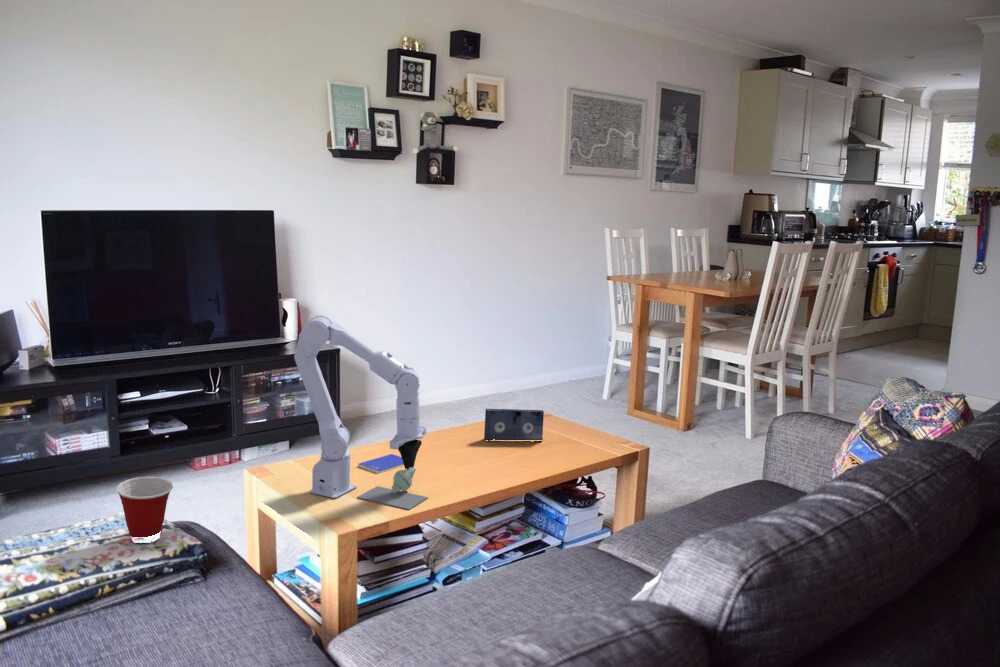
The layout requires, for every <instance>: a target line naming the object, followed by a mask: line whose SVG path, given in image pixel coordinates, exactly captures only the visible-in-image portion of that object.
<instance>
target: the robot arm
mask: <svg viewBox="0 0 1000 667" xmlns="http://www.w3.org/2000/svg"><path fill="white" fill-rule="evenodd" d="M327 342H328V346H332V347H333V346H334V347H335V346H336V347H337V346H341V347H342V348H345V349H346V350H348V351H350V352H351V353H352V354H354V355H355V356H357V357H359V358H361V360H364V361H365V362H367V363H368V365H369V370H370V371H371V372H372V373H374V374H375V375H376V376H378V377H380V378H381V379H383V380H384V381H385V382H387V383H389V384H390V385H394V387H395V390H396V392H397V394H396V395H397V398H396V400H395V401H396V403H395V404H396V434H395V435H394V437H393V438H392V439H391V440H389V449H391V450H395V451H396V450H398V452H399V454H400V457H402V460H403V463H404V466H403V467H404V470H405V469H408V468H410V467H412V468H414V467H415V463H416V459H417V455H418V452H419V450H420V448H421V446H422V440H421V439H423V438H424V436H425V435H427V427H426V426H421V425H420V424H421V422H420V418H421V416H420V398H419V397H420V395H419V394H420V392H419V388H420V376H419V374H418V373H417V372H416V370H415V369H414V368H413V367H409V365H407V364H406V363H404V364H403V363H402V362H400V361H399V360H397V359H396V358H394V357H393V353H391V352H390V351H387V352H386V351H384V350H381V351H375V350H374V349H373V348H372V347H370V346H369V345H368V344H366V343H365V342H363V341H362V340H361V339H359V338H358V337H357V336H356V335H355V334H353V333H352V332H350V331H349V330H347V329H346V328H345V327H343V326H342V325H341V324H339V323H337V322H336V321H332V320H331V319H330V318H328V317H327V316H326V315H315V316H314V317H312V318H311V319H310V320H309V321H308V322H307V323H306V324H305V325H304V327H303V328H302V330H301V331H300V332H299V334H298V340H297V344H296V347H295V352H294V356H293V357H294V362H295V365H296V367H297V369H298V372H299V374H300V377H301V380H302V383H303V386H304V388H305V391H306V393H307V396H308V399H309V401H310V404H311V407H312V409H313V410H312V411H313V412H314V415H315V418H316V420H317V423H318V429H319V435H320V439H321V444H320V450H321V453H320V459H319V460H318V461H317V462H316V463H315V464H314V465H313V467H312V477H311V478H312V487H311V489H310V490H309V493H311V494H315V495H319V496H322V495H323V496H322V497H326V498H332V499H337V498H339V497H340V496H343V495H345V494H347V493H349V492H351V491H352V490H355V489H356V488H358V487H357V484H352V483H351V452H350V451H349V450H348V445H349V443H350V440H351V433H350V431H349V430H348V428H347V427H345V426H344V425H343V422H342V420H341V419H340V417H339V415H338V414H337V411H336V408H335V406H334V404H333V401H332V398H331V395H330V392H329V390H328V387H327V383H326V381H325V379H324V377H323V372H322V370H321V368H320V365H319V363H318V360H317V356H318V353H319V352H320V350H321V348H323V346H324V345H325V344H326V343H327ZM414 469H415V468H414Z"/></svg>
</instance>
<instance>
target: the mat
mask: <svg viewBox="0 0 1000 667" xmlns="http://www.w3.org/2000/svg"><path fill="white" fill-rule="evenodd" d="M356 499H358V500H359V499H360V500H363V501H367V500H368V502H372V503H377V504H381V505H385V506H390V507H394V508H399V509H401V510H403V509H404V510H406V511H411V510H412V509H414V508H415V507H417V506H418V505H420V504H422V503H423V502H425V501H426V500H428V499H429V497H428V496H424V495H419V494H415V493H410V492H405V491H403V490H400V491H398V492H396V493H394V492H393V490H392V488H387V487H383V486H379V485H377V486H375V487H373V488H371V489H369V490H367V491H366V492H363V493H362V494H359V495H358V496H356Z"/></svg>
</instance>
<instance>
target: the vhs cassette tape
mask: <svg viewBox="0 0 1000 667" xmlns="http://www.w3.org/2000/svg"><path fill="white" fill-rule="evenodd" d="M544 414H545V411H544V410H543V409H542V410H540V409H538V410H537V409H517V408H515V409H513V408H512V409H509V408H500V409H499V408H485V414H484V434H483V439H485V440H493V439H495V440H542V441H543V436H544V434H543V433H544V431H543V430H544ZM485 440H484V441H485Z"/></svg>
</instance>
